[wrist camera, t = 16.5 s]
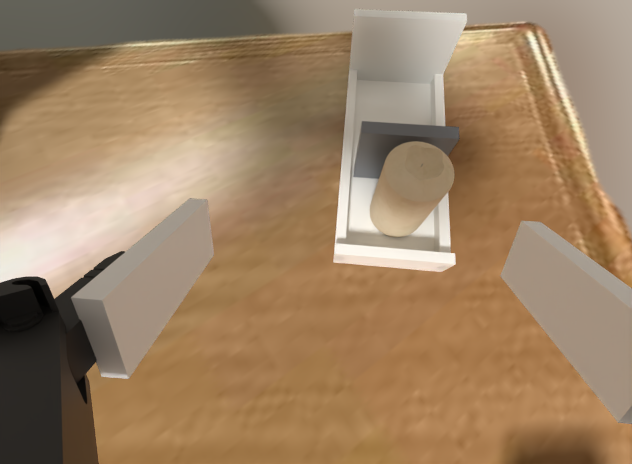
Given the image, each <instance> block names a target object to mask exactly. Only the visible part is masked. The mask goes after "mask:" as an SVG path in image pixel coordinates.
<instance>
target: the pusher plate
mask: <svg viewBox="0 0 632 464" xmlns="http://www.w3.org/2000/svg"><path fill="white" fill-rule="evenodd" d="M458 140H459V127H450V126H434V125H417V124H401V123H385V122H369V121H362V123H361V129H360V135H359V141H358V147H357V153H356V158H355V164H354V175H353V177H361V178H375V179H379V177H380V174H381V172H382V169H383V166H384V163H385V160H386V158H387V156H388V154H389V153H390V152H391V151H392V150H393V149H394V148H395V147H397V146H399V145H401V144H403V143H407V142H413V141H418V142H425V143H429V144H431V145H434V146H436V147H437V148H439V149H440V150H442V151H443V152H444V153H445V154H446V155H447V156H448V155H449V154H450V152H451V151H452V149H453V148H454V146H455V145H456V143H457V142H458Z"/></svg>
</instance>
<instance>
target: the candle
mask: <svg viewBox="0 0 632 464" xmlns="http://www.w3.org/2000/svg"><path fill="white" fill-rule="evenodd" d="M453 182H454V168H453V165H452V163H451V161H450V159H449V158H448V156H447V155H446V154H445V153H444V152H443V151H442V150H440V149H439V148H437V147H436V146H434V145H431V144H429V143H425V142H418V141H413V142H407V143H403V144H401V145H399V146H397V147H395V148H394V149H393V150H392V151H391V152H390V153H389V154H388V156H387V158H386V160H385V163H384V166H383V169H382V172H381V174H380V177H379V180H378V183H377V186H376V189H375V192H374V195H373V198H372V201H371V204H370V218H371V221H372V223H373V224H374V226H375V227H376V228H377V229H378V230H379V231H380V232H382V233H383V234H385V235H388V236H391V237H404V236H407V235H409V234H411V233H413V232H414V231H416V230H417V229H418V227H419V226H420V225H421V224H422V223H423V222H424V220H425V219H426V218H427V217H428V216H429V214H430V213H431V212H432V211H433V210H434V208H435V207H436V206H437V205H438V203H439V202H440V201H441V200H442V199H443V197H444V196H445V195H446V194H447V193H448V191H449V190H450V189H451V187H452V185H453Z"/></svg>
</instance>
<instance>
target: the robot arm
mask: <svg viewBox="0 0 632 464" xmlns="http://www.w3.org/2000/svg"><path fill="white" fill-rule="evenodd" d="M213 256H214V250H213V242H212V234H211V225H210V217H209V208H208V200H207V199H192V198H190V199H188V200H187V201H186V202H185V203H184V204H182V205H181V206H180V207H179V208H178V209H176V210H175V211H174V212H173V213H172V214H170V215H169V216H168V217H167V218H166V219H164V220H163V221H162V222H161V223H160V224H158V225H157V226H156V227H155V228H154V229H152V230H151V231H150V232H149V233H148V234H146V235H145V236H144V237H143V238H142V239H140V240H139V241H138V242H137V243H136V244H134V245H133V246H132V247H131V248H130V249H128V250H127V251H126V252H124V251H121V252H119V253H117V254H114V255H112V256H110V257H108V258H106V259H104V260H103V261H102V262H101V263H99V264H98V265H97V266H96V267H94V269H93V270H91V271H89V272H88V273H87V274H85V275H84V278H80V279H79V280H78V281H77V282H75V283H74V284H73V285H72V286H70V287H69V288H68V289H67V290H65V291H64V292H63V293H61V294H60V295H59V296H58V297H56V298H55V299H54V298H53V295H52V293H51V291H50V288H49V286H48V284H47V282H46V280H45V279H43V278H40V277H21V278H15V279H11V280H8V281H5V282H1V283H0V464H99V463H98V454H97V446H96V437H95V428H94V419H93V411H92V402H91V393H90V385H89V380H88V378H87V376H86V373H87V372H88V370H89V369H90V368H91V367H92V366H93V364H94V363H95V362H96V363H97V366H98V368H99V371H100V373H101V376H102V377H113V378H124V379H129V378H130V376H131V375H132V373H133V372H134V370H135V369H136V368H137V366H138V365H139V363H140V362H141V360H142V359H143V357H144V356H145V355H146V353H147V352H148V350H149V349H150V347H151V346H152V344H153V343H154V341H155V340H156V339H157V337H158V336H159V334H160V333H161V331H162V330H163V328H164V327H165V325H166V324H167V323H168V321H169V320H170V318H171V317H172V315H173V314H174V312H175V311H176V309H177V308H178V307H179V305H180V304H181V302H182V301H183V299H184V298H185V296H186V295H187V293H188V292H189V291H190V289H191V288H192V286H193V285H194V283H195V282H196V280H197V279H198V277H199V276H200V275H201V273H202V272H203V270H204V269H205V267H206V266H207V264H208V263H209V262H210V260H211V259H212V257H213ZM501 278H502V279H503V280H504V281H505V283H506V284H507V285H508V286H509V287H510V289H511V290H512V291H513V292H514V294H515V295H516V296H517V297H518V299H519V300H520V301H521V302H522V304H523V305H524V306H525V307H526V309H527V310H528V311H529V312H530V314H531V315H532V316H533V317H534V319H535V320H536V321H537V322H538V324H539V325H540V326H541V327H542V329H543V330H544V331H545V332H546V333H547V335H548V336H549V337H550V338H551V340H552V341H553V342H554V343H555V345H556V346H557V347H558V348H559V350H560V351H561V352H562V353H563V355H564V356H565V357H566V358H567V360H568V361H569V362H570V363H571V365H572V366H573V367H574V368H575V370H576V371H577V372H578V373H579V375H580V376H581V377H582V378H583V380H584V381H585V382H586V383H587V384H588V386H589V387H590V388H591V389H592V391H593V392H594V393H595V394H596V396H597V397H598V398H599V399H600V401H601V402H602V403H603V404H604V406H605V407H606V408H607V409H608V411H609V412H610V413H611V414H612V416H613V417H614V418H615V419H616V421H617V422H618V423H627V424H632V288H630V287H629V286H627V285H626V284H625V283H623V282H622V281H621V280H619V279H618V278H617V277H615V276H614V275H612V274H611V273H610V272H608V271H607V270H606V269H604V268H603V267H601V266H600V265H599V264H597V263H596V262H595V261H593V260H592V259H590V258H589V257H588V256H586V255H585V254H584V253H582V252H581V251H580V250H578V249H577V248H575V247H574V246H573V245H571V244H570V243H569V242H567V241H566V240H564V239H563V238H562V237H560V236H559V235H558V234H556V233H555V232H553V231H552V230H551V229H549V228H548V227H547V226H545V225H544V224H543V223H541V222H532V221H521V224H520V226H519V229H518V231H517V234H516V237H515V239H514V242H513V244H512V247H511V250H510V252H509V255H508V258H507V260H506V263H505V265H504V268H503V271H502V273H501Z"/></svg>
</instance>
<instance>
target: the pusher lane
mask: <svg viewBox="0 0 632 464" xmlns="http://www.w3.org/2000/svg"><path fill="white" fill-rule="evenodd" d="M466 22H467V14H463V13H439V12H437V13H436V12H414V11H391V10H364V9H355V10H354V21H353V32H352V43H351V54H350V65H349V77H348V89H347V101H346V113H345V126H344V138H343V150H342V163H341V175H340V187H339V200H338V212H337V224H336V237H335V249H334V261H333V262H336V263H347V264H359V265H370V266H381V267H393V268H404V269H415V270H427V271H438V272H442V271H444V270H446V269H448V268H450V267H451V266H453V265H455V264H456V263H455V253H451V248H450V224H449V201H448V193H447V194H446V195H445V196H444V197H443V199H442V200H441V201H440V202H439V203H438V205H437V206H436V207H435V208H434V210H433V211H432V212H431V213H430V214H429V216H428V217H427V218H426V219H425V220H424V222H423V223H422V224H421V225H420V226H419V227H418V229H417V230H416V231H414V232H413V233H411V234H409V235H407V236H404V237H391V236H388V235H385V234H383V233H382V232H380V231H379V230H378V229H377V228H376V227H375V226H374V224H373V223H372V221H371V218H370V204H371V201H372V198H373V195H374V192H375V189H376V186H377V183H378V180H379V179H375V178H361V177H353V175H354V164H355V158H356V153H357V147H358V141H359V135H360V129H361V123H362V121H369V122H385V123H401V124H417V125H434V126H445V107H444V83H443V74H444V71H445V69H446V67H447V65H448V63H449V60H450V58H451V56H452V54H453V51H454V49H455V47H456V45H457V42H458V40H459V38H460V36H461V34H462V31H463V29H464V27H465V25H466Z"/></svg>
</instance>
